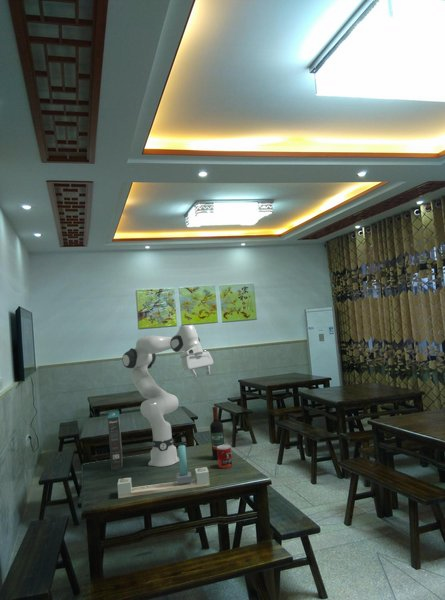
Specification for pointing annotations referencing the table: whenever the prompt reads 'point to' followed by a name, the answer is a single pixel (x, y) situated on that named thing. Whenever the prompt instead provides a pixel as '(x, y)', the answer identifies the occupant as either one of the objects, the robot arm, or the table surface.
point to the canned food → (224, 456)
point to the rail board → (162, 485)
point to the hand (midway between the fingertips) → (202, 375)
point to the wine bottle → (216, 433)
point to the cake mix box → (115, 440)
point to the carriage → (183, 467)
